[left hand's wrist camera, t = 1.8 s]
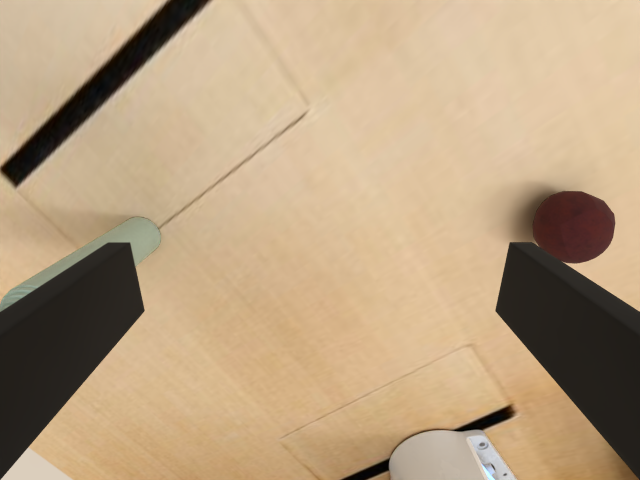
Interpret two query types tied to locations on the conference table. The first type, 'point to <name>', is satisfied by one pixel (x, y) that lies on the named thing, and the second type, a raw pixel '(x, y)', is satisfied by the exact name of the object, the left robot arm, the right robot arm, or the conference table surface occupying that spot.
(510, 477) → the right robot arm
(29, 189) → the conference table surface
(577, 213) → the dark maroon ball
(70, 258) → the bottle
